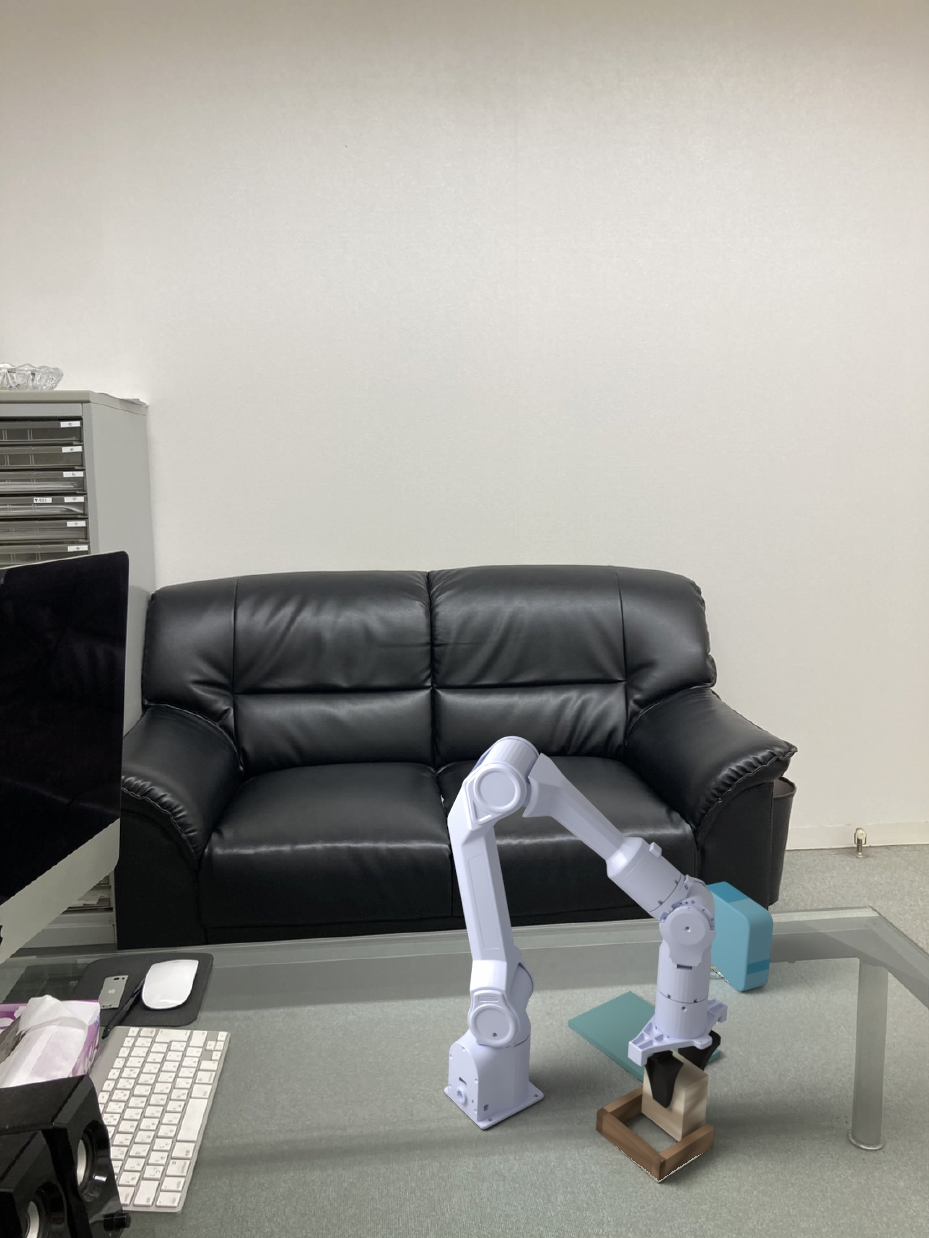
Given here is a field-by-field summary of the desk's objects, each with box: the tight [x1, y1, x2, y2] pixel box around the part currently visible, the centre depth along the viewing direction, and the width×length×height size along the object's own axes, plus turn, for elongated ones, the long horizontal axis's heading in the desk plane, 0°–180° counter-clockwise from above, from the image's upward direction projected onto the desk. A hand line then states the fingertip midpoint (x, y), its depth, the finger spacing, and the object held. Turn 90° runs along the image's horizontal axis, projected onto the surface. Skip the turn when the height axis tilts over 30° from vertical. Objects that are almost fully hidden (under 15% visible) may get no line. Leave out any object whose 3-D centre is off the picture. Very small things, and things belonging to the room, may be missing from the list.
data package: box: [705, 881, 774, 992], centre depth 140 cm, size 12×4×12 cm, turn 23°
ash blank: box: [641, 1049, 709, 1142], centre depth 108 cm, size 4×6×7 cm, turn 36°
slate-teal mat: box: [567, 990, 721, 1083], centre depth 125 cm, size 12×16×1 cm
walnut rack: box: [595, 1084, 715, 1181], centre depth 107 cm, size 9×10×2 cm
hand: (674, 1094), depth 108 cm, fingers closed on ash blank, 4 cm apart
